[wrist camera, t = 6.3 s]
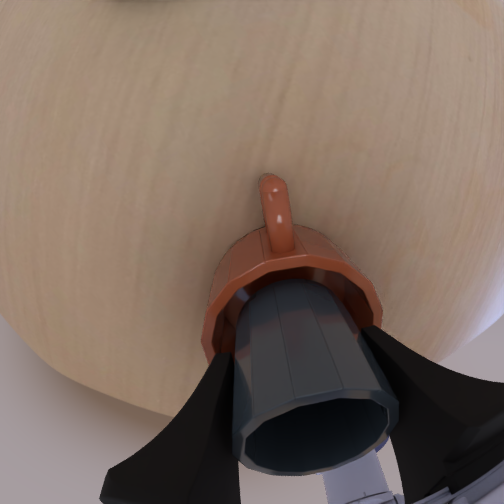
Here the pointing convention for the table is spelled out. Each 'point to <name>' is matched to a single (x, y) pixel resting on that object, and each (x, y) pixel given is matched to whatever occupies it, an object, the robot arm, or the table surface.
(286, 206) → the mug
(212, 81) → the table surface
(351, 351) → the grey handleless cup
